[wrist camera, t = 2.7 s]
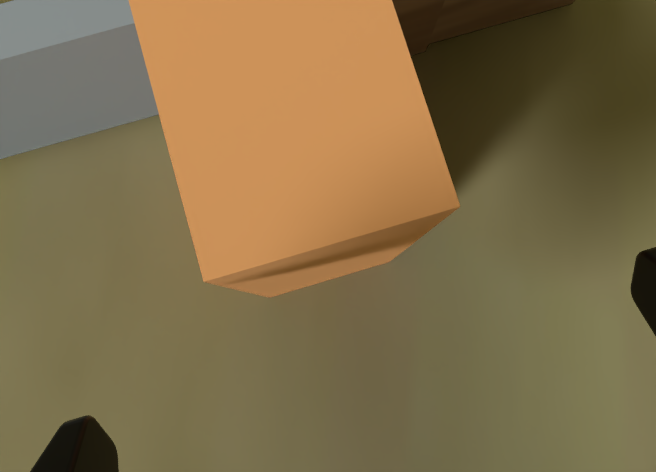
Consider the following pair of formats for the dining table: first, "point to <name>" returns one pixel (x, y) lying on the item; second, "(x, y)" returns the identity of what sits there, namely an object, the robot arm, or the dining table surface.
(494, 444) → the dining table surface
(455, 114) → the dining table surface
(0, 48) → the door
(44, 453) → the robot arm
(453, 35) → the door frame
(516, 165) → the dining table surface
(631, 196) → the dining table surface
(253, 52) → the tan rectangular slab
